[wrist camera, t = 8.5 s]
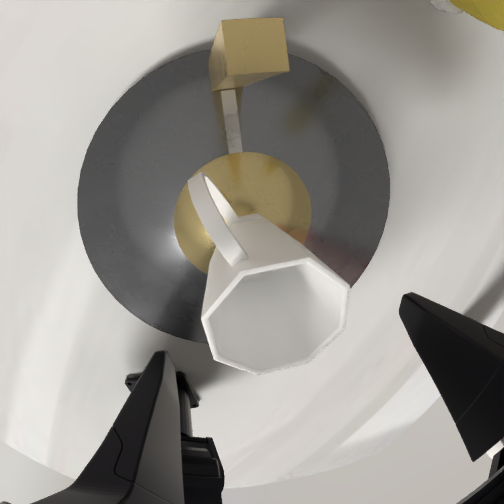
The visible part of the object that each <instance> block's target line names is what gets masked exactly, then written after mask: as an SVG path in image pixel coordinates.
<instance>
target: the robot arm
mask: <svg viewBox="0 0 504 504" xmlns="http://www.w3.org/2000/svg"><path fill="white" fill-rule="evenodd" d="M399 315H400V318H401V320H402V322H403V324H404V326H405V328H406V330H407V332H408V335H409V337H410V339H411V341H412V343H413V345H414V347H415V349H416V351H417V352H418V354H419V356H420V358H421V359H422V361H423V363H424V365H425V366H426V368H427V370H428V372H429V374H430V375H431V377H432V379H433V381H434V383H435V385H436V387H437V388H438V390H439V392H440V394H441V396H442V398H443V400H444V402H445V404H446V406H447V408H448V410H449V412H450V413H451V416H452V418H453V420H454V422H455V423H456V426H457V428H458V431H459V433H460V435H461V437H462V439H463V442H464V444H465V446H466V448H467V450H468V453H469V455H470V457H471V460H472V461H473V462H474V461H476V460H477V459H478V458H479V457H481V456H482V455H483V454H484V453H486V452H487V451H488V450H490V449H491V448H492V447H493V446H494V445H496V444H497V443H498V442H499V441H501V443H502V444H503V446H504V334H503V333H501V332H499V331H496V330H494V329H492V328H490V327H488V326H486V325H483V324H481V323H479V322H477V321H475V320H473V319H471V318H468V317H466V316H464V315H462V314H460V313H458V312H455V311H453V310H451V309H449V308H447V307H444V306H442V305H440V304H438V303H435V302H433V301H431V300H429V299H427V298H424V297H422V296H420V295H418V294H415V293H413V292H410V293H407V294H404V295H403V297H402V300H401V304H400V308H399ZM125 384H126V386H127V387H128V389H129V390H130V391H131V394H130V395H129V397H128V399H127V401H126V402H125V404H124V406H123V408H122V409H121V411H120V413H119V415H118V416H117V418H116V420H115V422H114V423H113V426H112V427H111V429H110V430H109V432H108V434H107V436H106V437H105V439H104V441H103V442H102V444H101V446H100V447H99V449H98V450H97V452H96V453H95V454H94V456H93V457H92V459H91V460H90V461H89V463H88V464H87V466H86V467H85V468H84V470H83V471H82V473H81V474H80V475H79V477H78V478H77V479H76V481H75V482H74V483H73V484H72V485H70V486H69V487H68V488H66V489H64V490H62V491H60V492H58V493H55V494H53V495H51V496H48V497H46V498H44V499H41V500H39V501H36V502H34V503H32V504H222V498H221V492H222V490H223V487H224V470H223V467H222V464H221V461H220V459H219V456H218V453H217V450H216V447H215V445H214V442H213V439H212V438H210V437H206V438H200V437H193V434H192V422H191V410H190V408H196V407H198V406H199V403H198V400H197V398H196V396H195V394H194V392H193V390H192V388H191V386H190V384H189V382H188V380H187V378H186V376H185V374H184V373H182V372H177V373H175V367H174V364H173V362H172V360H171V358H170V356H169V354H168V352H167V351H165V350H164V351H157V352H155V353H154V355H153V356H152V358H151V360H150V361H149V363H148V365H147V366H146V368H145V370H144V371H143V373H142V375H141V377H135V378H127V379H126V380H125ZM0 504H11V503H8V502H5V501H3V502H1V503H0ZM457 504H504V447H503V448H502V449H501V450H499V451H498V452H497V453H496V454H495V455H494V456H493V460H492V465H491V470H490V474H489V478H488V480H487V481H486V482H484V483H483V484H482V485H481V486H479V487H478V488H477V489H476V490H475V491H473V492H472V493H470V494H469V495H468V496H466V497H465V498H464V499H462V500H461V501H460V502H458V503H457Z"/></svg>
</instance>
